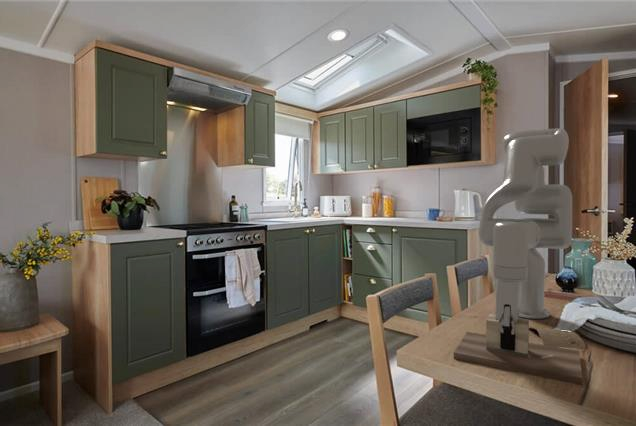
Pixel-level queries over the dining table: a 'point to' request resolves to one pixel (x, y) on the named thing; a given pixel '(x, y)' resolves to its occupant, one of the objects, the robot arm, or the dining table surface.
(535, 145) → the robot arm
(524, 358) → the walnut board
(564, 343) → the clay tablet
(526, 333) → the cream carton
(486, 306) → the dining table surface
